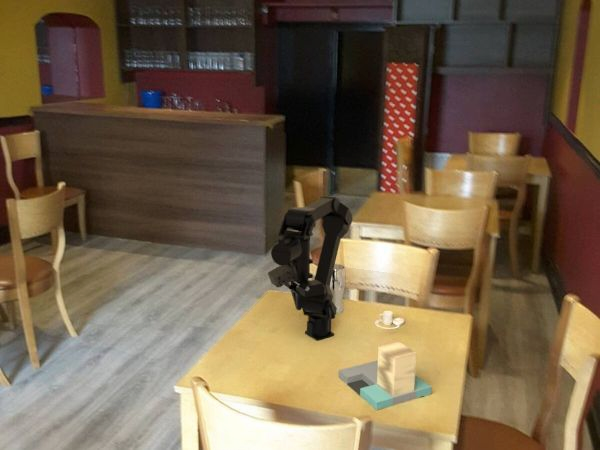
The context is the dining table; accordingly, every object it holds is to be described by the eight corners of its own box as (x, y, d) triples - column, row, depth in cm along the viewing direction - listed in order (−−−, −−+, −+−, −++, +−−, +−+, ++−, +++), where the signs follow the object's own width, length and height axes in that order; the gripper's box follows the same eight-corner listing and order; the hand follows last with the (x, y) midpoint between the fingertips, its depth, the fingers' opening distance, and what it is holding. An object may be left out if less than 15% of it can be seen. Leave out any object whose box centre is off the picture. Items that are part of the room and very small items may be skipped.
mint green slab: (359, 395, 152) (360, 388, 151) (413, 381, 159) (413, 373, 159) (376, 410, 146) (377, 402, 145) (431, 394, 153) (431, 386, 152)
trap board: (338, 377, 161) (338, 370, 160) (389, 363, 168) (390, 357, 167) (376, 410, 146) (377, 402, 145) (431, 394, 153) (431, 386, 152)
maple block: (376, 383, 154) (378, 346, 151) (396, 377, 157) (398, 341, 154) (393, 396, 148) (395, 358, 145) (414, 390, 150) (416, 352, 148)
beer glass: (343, 315, 199) (344, 271, 195) (321, 313, 201) (322, 269, 197) (346, 307, 206) (347, 264, 202) (325, 305, 207) (326, 262, 203)
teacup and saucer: (406, 323, 195) (406, 310, 194) (398, 332, 188) (399, 320, 187) (379, 318, 199) (379, 306, 198) (371, 327, 192) (371, 315, 191)
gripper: (257, 250, 171) (257, 303, 175) (288, 269, 155) (288, 327, 159) (293, 245, 176) (292, 297, 180) (327, 263, 160) (325, 319, 164)
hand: (298, 309), depth 170 cm, fingers closed
